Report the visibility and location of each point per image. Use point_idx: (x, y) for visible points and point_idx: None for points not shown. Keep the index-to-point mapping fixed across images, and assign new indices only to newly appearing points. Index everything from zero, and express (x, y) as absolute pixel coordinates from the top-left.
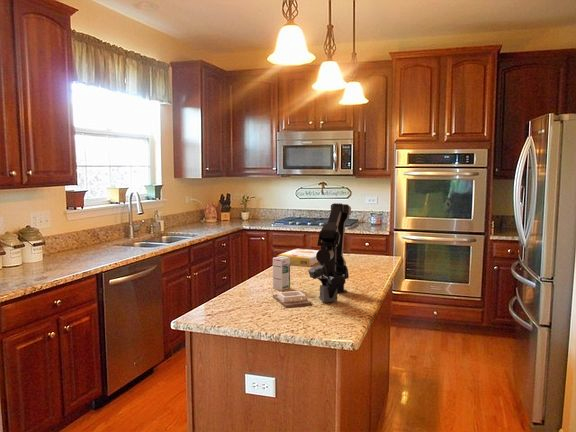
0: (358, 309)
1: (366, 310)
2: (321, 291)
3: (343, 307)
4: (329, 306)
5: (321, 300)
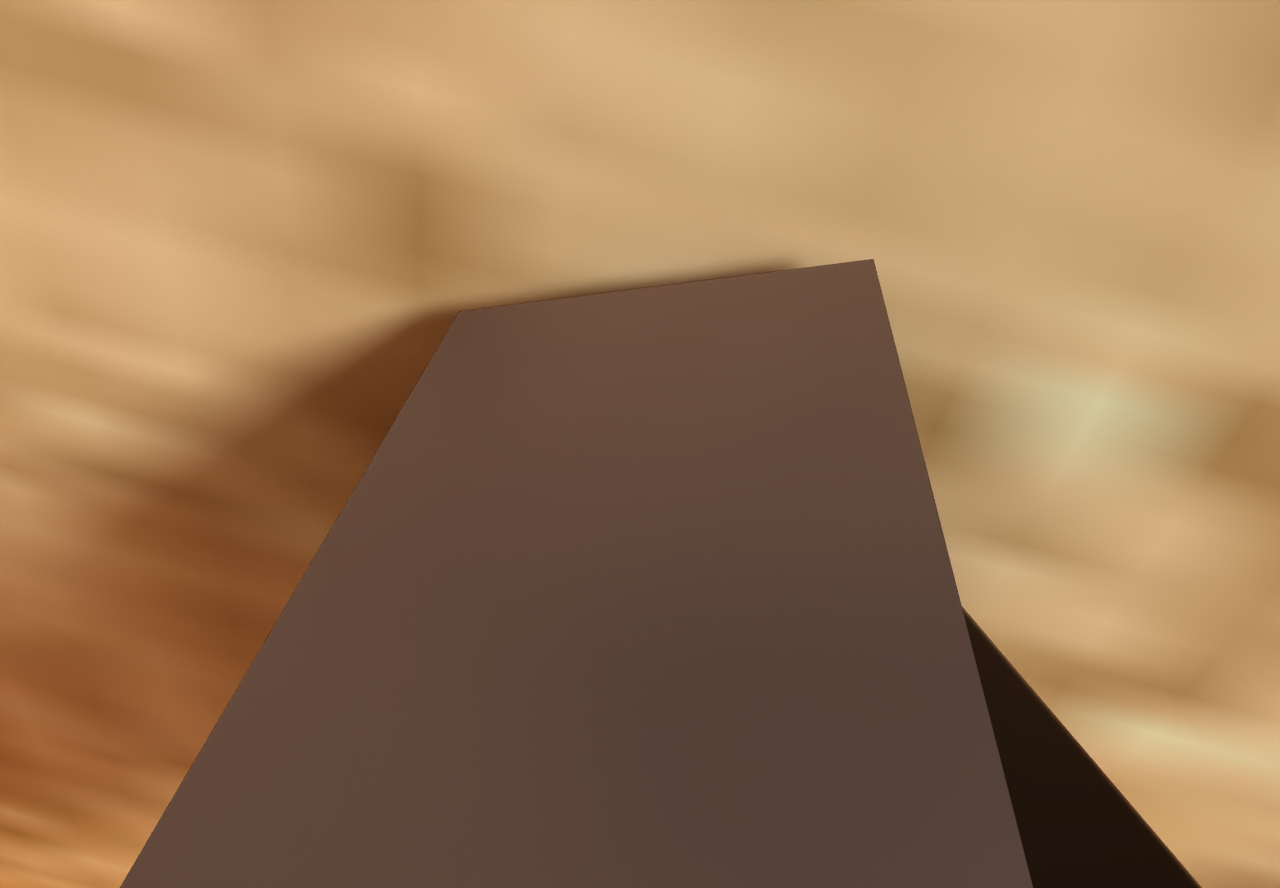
0: (53, 806)
1: (25, 869)
2: (677, 567)
3: (135, 645)
4: (163, 369)
5: (688, 286)
